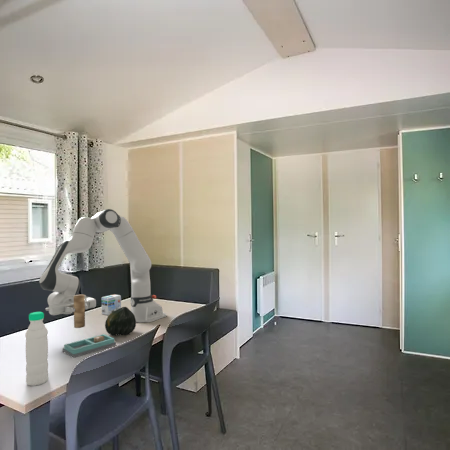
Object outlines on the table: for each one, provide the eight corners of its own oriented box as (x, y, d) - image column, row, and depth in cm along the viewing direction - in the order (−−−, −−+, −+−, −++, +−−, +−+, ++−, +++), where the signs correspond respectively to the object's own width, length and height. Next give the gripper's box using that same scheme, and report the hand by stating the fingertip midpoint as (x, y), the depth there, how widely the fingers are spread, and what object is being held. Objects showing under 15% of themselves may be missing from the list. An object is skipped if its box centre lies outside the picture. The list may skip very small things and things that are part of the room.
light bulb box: (108, 315, 209) (107, 298, 209) (101, 314, 213) (100, 297, 213) (121, 311, 218) (121, 295, 218) (114, 310, 222) (114, 294, 222)
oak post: (82, 324, 154) (81, 293, 153) (86, 326, 150) (86, 295, 150) (72, 326, 150) (71, 295, 150) (76, 328, 147) (76, 296, 147)
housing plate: (104, 339, 165) (104, 332, 165) (116, 344, 157) (115, 337, 157) (62, 351, 150) (62, 343, 150) (73, 357, 142) (72, 349, 142)
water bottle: (53, 379, 123) (51, 311, 123) (36, 387, 116) (35, 316, 116) (38, 376, 125) (37, 309, 125) (21, 385, 119) (20, 314, 119)
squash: (100, 321, 176) (107, 303, 169) (127, 317, 185) (135, 300, 178) (106, 345, 168) (113, 327, 160) (135, 340, 177) (143, 323, 169)
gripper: (43, 301, 151) (55, 306, 142) (87, 294, 166) (101, 298, 157) (44, 315, 151) (55, 321, 142) (88, 306, 166) (101, 311, 157)
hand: (80, 309), depth 150 cm, fingers closed on oak post, 4 cm apart
